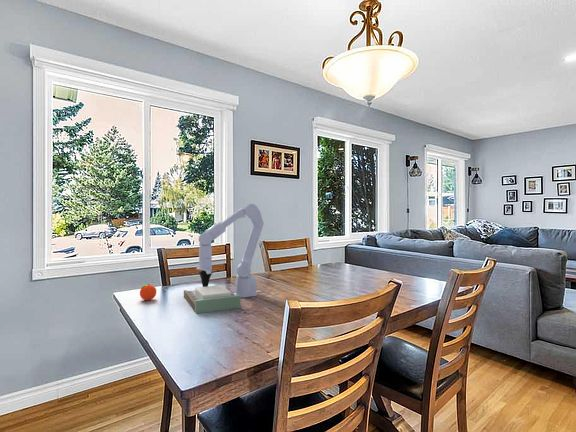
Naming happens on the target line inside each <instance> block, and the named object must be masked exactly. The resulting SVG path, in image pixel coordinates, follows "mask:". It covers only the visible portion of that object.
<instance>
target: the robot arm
mask: <svg viewBox="0 0 576 432" xmlns="http://www.w3.org/2000/svg"><path fill="white" fill-rule="evenodd" d="M246 216H247V217H248V218H249V219H250V221H251V223H252V228H251V230H250V234H249V237H248V240H247V243H246V246H245V249H244V253H243V255H242V258H241V260H240V262H239V263H238V264H237V266H236V267H237V268H236V273H237V274H236V276H235V292H233V295H240V296H241V297H240V299H241V298H248V297H257V296H258V295H257V292H258V291H257V285H258V284H257V283H258V282H257V278H256V276H253V275H251V274H252V271H251V266H252V263H253V262H252V261H253V259H254V254H255V252H256V248H257V246H258V242H259V239H260V236H261V234H262V230H263V226H264V221H263V216H262V213H261V210H260V209H259V207H258V205H256V204H254V203H249V204H247V205H245V206H243V207H241V208H239V209H238V210H236V211H235V212H234V213H232V214H231V215H230V216H228V217H227V218H226V219H224V220H223V221H222V222H221V221H217V222H213V225H211V227H209V228H208V229H204V232H201V233H200V235H199V237H198V242H199V248H198V266H197V267H196V270H200V271H198V274H199V277H200V280H201V284H202V285H201V286H202V287H208V286H209V282H210V279H211V276H212V274H213V272H212V269H213V267H212V264H213V263H212V261H213V260H212V259H213V257H212V255H213V254H212V253H213V252H212V251H213V249H212V241H213V240H216V239H217V238H218V237H220V236H222V234H224V233H226V231H227V230H226V229H227V227H229V226H230V225H232V224H233V223H235V222H236V221H237V220H239V219H241V218H242V219H243V218H246Z"/></svg>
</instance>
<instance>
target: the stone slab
mask: <svg viewBox="0 0 576 432" xmlns="http://www.w3.org/2000/svg"><path fill="white" fill-rule="evenodd" d="M194 290H195V295H196V296H197V297H198V298H199V299H206V298H215V297H224V296H231V294H232V291H230V290H229V289H227V287H225V286H224V285H223V284H220V285H211V286H210V285H208V287H203V286H201V287H195V289H194Z"/></svg>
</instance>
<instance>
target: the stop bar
mask: <svg viewBox="0 0 576 432" xmlns="http://www.w3.org/2000/svg"><path fill="white" fill-rule="evenodd" d="M240 297H241V296H240V295H234V294H233V295H232V296H224V297H215V298H206V299H197V300H195V312H194V313H195V314H203V313H210V312H218V311H224V310H233V309H240V308H241V298H240Z"/></svg>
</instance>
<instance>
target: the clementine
mask: <svg viewBox="0 0 576 432" xmlns="http://www.w3.org/2000/svg"><path fill="white" fill-rule="evenodd" d="M138 289H139V296H140V298H141V299H142V300H144V301H152V300H153V299H154V298H155V297H156V295H157V288H156V287H155V286H154V285H153V284H143V285H141V286H139V287H138Z"/></svg>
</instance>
